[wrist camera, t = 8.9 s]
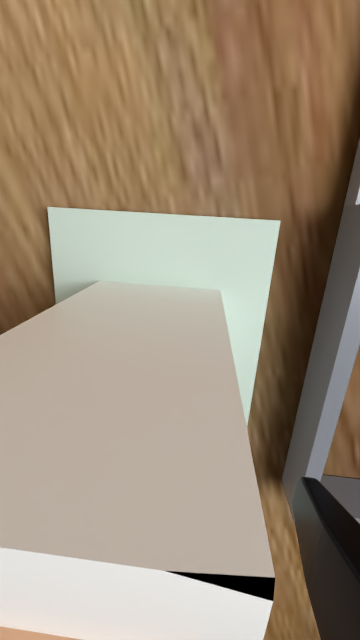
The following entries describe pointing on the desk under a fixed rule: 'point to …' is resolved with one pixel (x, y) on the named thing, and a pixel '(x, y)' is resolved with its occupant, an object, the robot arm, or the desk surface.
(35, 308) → the desk surface
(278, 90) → the desk surface
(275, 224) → the sage mat
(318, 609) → the robot arm
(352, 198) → the grey holder tray
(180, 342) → the module
